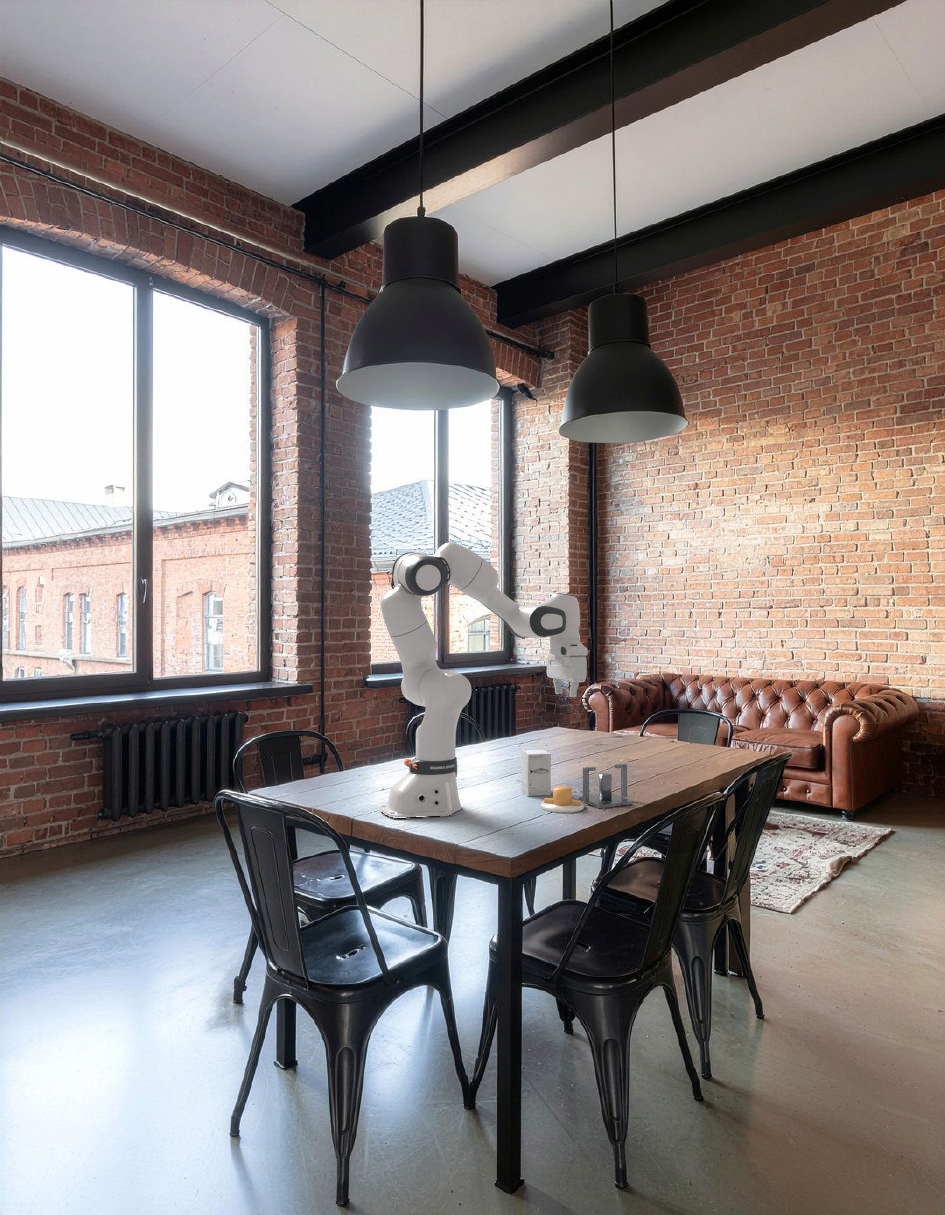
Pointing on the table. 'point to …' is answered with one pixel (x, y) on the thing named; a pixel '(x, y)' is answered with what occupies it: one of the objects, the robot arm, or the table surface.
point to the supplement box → (536, 772)
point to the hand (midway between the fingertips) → (565, 695)
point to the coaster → (562, 808)
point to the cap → (562, 797)
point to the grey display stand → (605, 789)
